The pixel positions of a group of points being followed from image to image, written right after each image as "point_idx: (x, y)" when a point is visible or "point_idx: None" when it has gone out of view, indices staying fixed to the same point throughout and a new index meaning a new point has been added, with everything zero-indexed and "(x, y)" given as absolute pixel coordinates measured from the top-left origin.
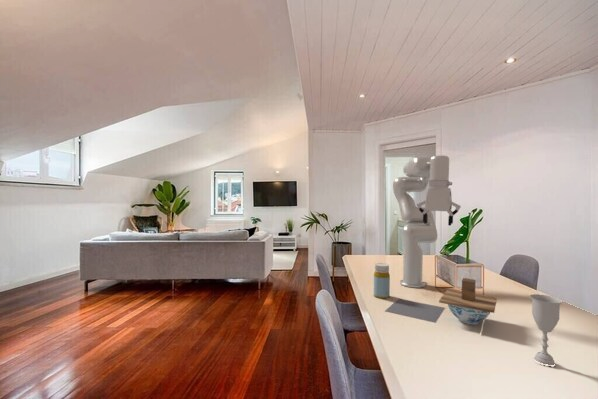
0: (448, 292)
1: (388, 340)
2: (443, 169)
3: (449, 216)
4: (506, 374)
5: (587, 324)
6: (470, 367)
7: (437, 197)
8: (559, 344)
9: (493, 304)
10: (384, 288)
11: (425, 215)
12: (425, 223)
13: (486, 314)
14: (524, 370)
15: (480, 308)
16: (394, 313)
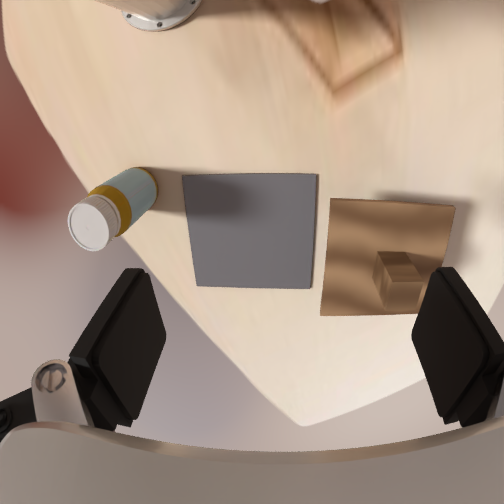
0: (337, 236)
1: (256, 374)
2: None
3: (447, 419)
4: (395, 373)
5: None
6: (360, 380)
7: None
8: (491, 256)
9: None
10: (141, 215)
11: (131, 417)
12: (161, 334)
13: None
14: (417, 356)
15: (404, 313)
16: (219, 286)
